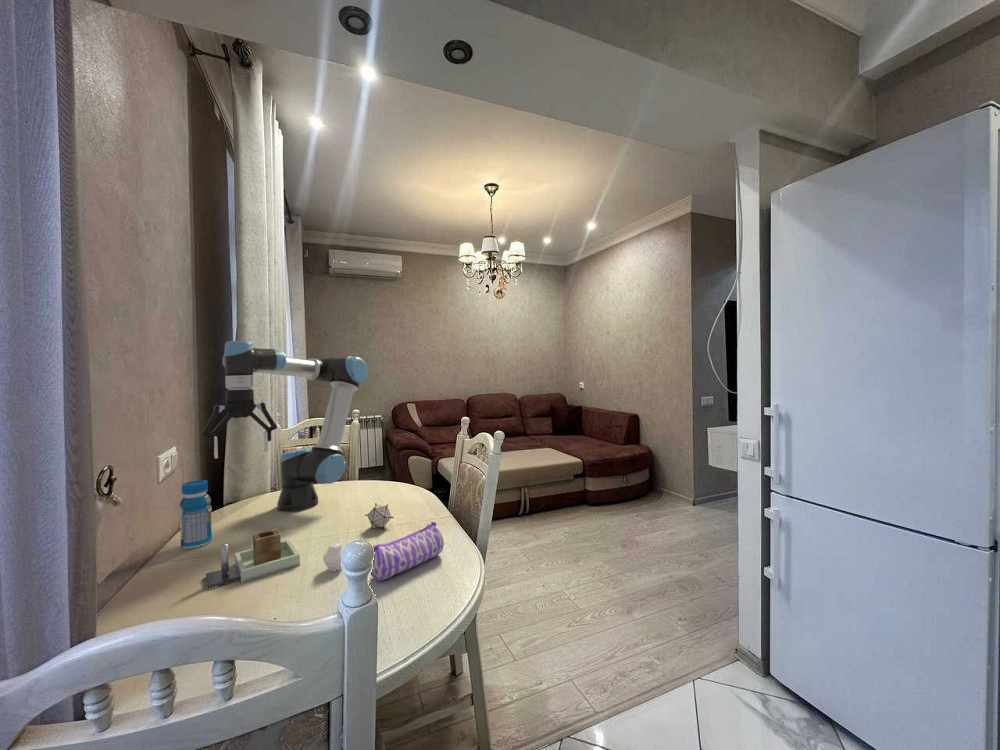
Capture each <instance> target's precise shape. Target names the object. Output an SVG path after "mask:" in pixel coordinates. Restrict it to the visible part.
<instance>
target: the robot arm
mask: <svg viewBox="0 0 1000 750" xmlns="http://www.w3.org/2000/svg"><path fill="white" fill-rule="evenodd" d="M221 362H222V366H223V367H224V371H225V375H224V376H225V377H224V378H225V388H226V391H225V405H218V404H216V405H214V406H213V412H212V415H210V418H209V420H208V421H207V423H206V425H205V427H204V429H203V430H202V433H201V435H202V436H203V437H208V439H209V440H208V443H209V448H211V449H213V450H214V451H213V455H214V456H213V457H214V459H218V458H219V452H218V451H219V449H218V448H219V447H218V446H219V445H218V437H217V436H216V435H217V434H218V433H219V432H220V431H221V430H222V429H223V427H224V426H225V425H227V423H228V422H229V421H230V420H232V418H234V419H240V418H243V419H245V418H248V417H251V418H252V419H253V420H254V421H255V422H256V423H258V424H259V426H260V427H261V428H262V429H264V431H262V432H263V433H262V434H263V451H264V452H265V453H267V452H269V442H271V440H272V431H274V430H277V429H278V426H277V424H276V422H275V421H274V419H273V418H272V416H271V414H270V413H269V411H268V410H267V408H266V403H265V402H261V401H260V403H259V402H258V403H255V396H254V395H255V393H254V389H252V388H254V373H258V374H267V375H269V374H270V375H278V376H279V375H280V376H289V377H301V378H305V379H306V380H308V381H314V382H321V383H327V384H330V386H331V388H332V390H331V393H330V396H329V400H328V404H327V408H326V412H325V416H324V419H323V423H322V427H321V430H320V433H319V438H318V441H317V444H315V445H313V446H312V448H311V447H306V448H300V449H294V450H289V451H284V452H283V453H282V454H281V455H280V479H281V481H280V482H281V483H280V484H281V490H280V494H279V497H278V499H277V503H276V507H277V508H276V509H277V510H278V511H279V512H285V513H286V512H287V513H288V512H290V513H291V512H299V511H304V510H307V509H312V508H314V507H315V506H317V505H318V504H319V496H318V493H317V492H316V489H315V486H314V484H320V485H328V484H329V485H330V484H334V483H336V482H337V481H338V480H340V478H342V476H343V474H344V473H345V469H346V459H345V457H344V456H343V450H342V449H341V444H342V440H343V435H344V432H345V428H346V424H347V419H348V416H349V412H350V407H351V404H352V401H353V400H352V399H353V397H354V393H355V392H357V391H358V390H359V388H360V384H363V383H364V382H365V381H366V380H367V378H368V367H367V364H366V362H365V361H364V360H363V359H362V358H361V357H358V356H351V355H350V356H339V357H338V356H336V357H333V356H332V357H322V358H313V357H310V358H307V359H305V358H297V357H290V356H287V355H286V353H285V352H284V351H283V350H281V349H276V348H257V347H256V348H255V347H254V346H253V343H252V342H251V341H248V340H229V341H226V342H225V344H224V354H223V357H222V361H221ZM256 408H257V409H258V410H259V411H261V413H262V414H263V416H264V418H265V419H266V420H267V422H268V424H269V425H270V427H269V425H267V424H266V423H265V422H264V421H263V420H262V419H261V418H259V416H257V415H256V414H255V413H254V411H255V409H256ZM223 410H225V412H227V414H226V415H225V416H224V417H223V418H222V419H221V421H220V422H219V423H218V424H217V425H216V426H215V427H214V428H213V430H212V431H211V432H210V430H211V428H212V426H213V425H214V423H215V421H216V419H217V418H218V416H219V413H222V412H223Z"/></svg>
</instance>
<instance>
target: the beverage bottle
mask: <svg viewBox="0 0 1000 750" xmlns="http://www.w3.org/2000/svg"><path fill="white" fill-rule="evenodd" d="M208 490H209V483H208V480H206V479H198V480H197V479H196V480H192V481H191V480H190V481H186V482H184V483H182V484H181V494H182V496H183V497H182V499H181V500H180V502H179V506H178V507H179V510H180V511H179V512H178V516H179V526H180V548H182V549H185V550H186V549H187V550H188V549H189V550H190V549H196V548H197V549H198V548H199V547H200V546H201V547H204V546H206V545H208V544H210V543H211V542H212V541H213V532H212V511H213V509H212V507H213V506H212V505H211V502H212V499H211V497H210V495H209V494H208V493H207V492H208ZM201 547H200V548H201Z"/></svg>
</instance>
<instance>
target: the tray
mask: <svg viewBox="0 0 1000 750" xmlns="http://www.w3.org/2000/svg"><path fill="white" fill-rule="evenodd" d="M300 556H301V555H300V552H298V550H297V549H296V547H295V546H294V545H293V543H292V542H291V540H290V539H285V540H281V559H278V560H274V561H270V562H267V563H263V564H260V565H256V566H255V564H254V562H253V548H249V549H245V550H242V551H239V552H235V553H234V561H235V562H234V563H235V565H237V567H238V570H239V573H240V579H241V580H240V582H241V583H245V581H246V582H248V581H251V580H255V579H259V578H261V577H266V576H269V575H272V574H275V573H274V572H276V573H278V571H279V572H282V571H286V570H289V569H292V568H295V567H298V566H300V565H301V559H300V558H301V557H300ZM285 569H286V570H285ZM271 573H272V574H271ZM268 574H269V575H268ZM265 575H266V576H265Z"/></svg>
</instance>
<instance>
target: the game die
mask: <svg viewBox="0 0 1000 750" xmlns="http://www.w3.org/2000/svg"><path fill="white" fill-rule="evenodd" d="M388 506H389V503H388V504H386V505H380V504H378V503H377V502H375V504H374V506H373V508H372V509H371V510H370V511H369V512H368V514H364V516H365V517H366V516H367V518H368V520H369V523H370V525H371V526H370V529H373V528H374V527H375V528H381V529H382V530H383V531H384V529H385V526H386V525H387V524H388V523H389V522H390V520H391V519H394V518H395V517H394V516H392V514H391V513H390V510H389V508H388Z"/></svg>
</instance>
